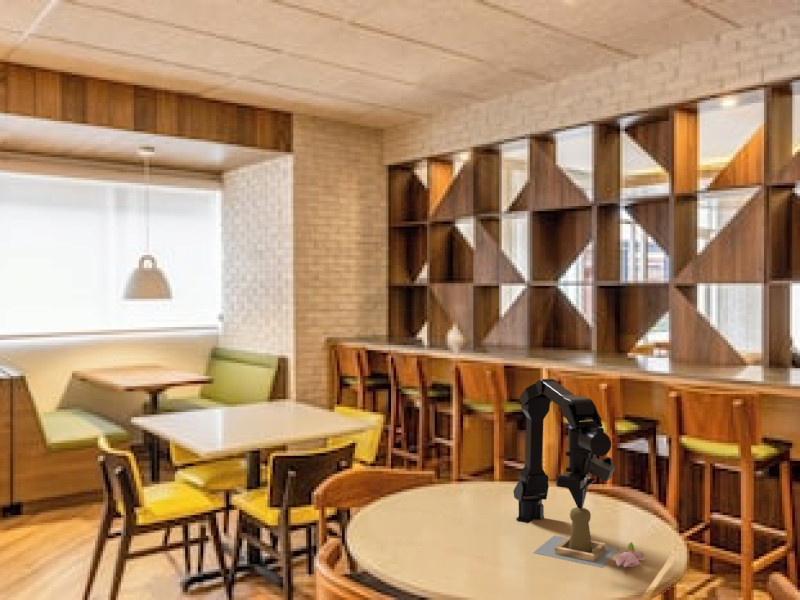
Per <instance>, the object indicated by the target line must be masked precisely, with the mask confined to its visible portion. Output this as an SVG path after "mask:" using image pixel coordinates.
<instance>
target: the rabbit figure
mask: <svg viewBox="0 0 800 600" xmlns="http://www.w3.org/2000/svg"><path fill="white" fill-rule="evenodd" d="M627 550H628V551H626V552H625V551H624V552H622V553H619V556H617V557H615V562H616V565H617V567H620V566H623V568H633V567H638V566H639V565H640V561H646V558H645V557H643V552H642V551H638V550H635V547H634V544H633V542H632V541H631V542H629V543H628V546H627Z"/></svg>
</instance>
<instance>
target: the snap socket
mask: <svg viewBox="0 0 800 600" xmlns="http://www.w3.org/2000/svg"><path fill="white" fill-rule="evenodd" d="M565 538H566V539H564V540H563V541H562V542H561V543H560V544H559V545H557V546H556V547H555V554H559V555H564V556H569V557H574V558H578V559H583V560H588V561H593V562H594V561H595V560H596V559H597V558H598V557H599V556H600V555H601V553H602V552H603V551H604V550H605V549H606V546H607V544H606V542H601V541H595V540H591V543H592V548H594V550H593V551H592V552H591V553H587V552H582V551H577V550H573V549H568V548H567V547H568V546H569V543H570V535H568V536H567V537H565Z"/></svg>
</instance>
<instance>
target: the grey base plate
mask: <svg viewBox="0 0 800 600" xmlns="http://www.w3.org/2000/svg"><path fill="white" fill-rule="evenodd" d="M566 538H567V537H563V536H558V535H552V537H550V538H549V539H548V540H546V541H545V542H544V543H543V544H541V545H540V546H539V547H538V548H536V549H535V550H534V551H533V552H532V554H536V555H541V556H546V557H550V558H553V559H559V560H564V561H567V562H568V561H570V562H574V563H578V564H582V565H587V566H592V567H595V568H604V567H605V566H606V565H607V564H608V562H610V560H611V559H612V558H613V557H614V556H615V554H617V552H618V551H620V549H621V548H620V547H615V546H610V545H606V549H605V550H604V551H603V552H602V553H601V555H600V556H599V557H598V558H597V559H596V560H595V561H594V562H593V561H588V560H583V559H578V558H574V557H569V556H564V555H559V554H555V547H556V546H557V545H559V544H560V543H561V542H562V541H563V540H564V539H566ZM567 548H568V549H569V546H568V547H567ZM593 550H594V548H592V551H593Z"/></svg>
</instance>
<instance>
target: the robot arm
mask: <svg viewBox="0 0 800 600" xmlns="http://www.w3.org/2000/svg"><path fill="white" fill-rule="evenodd" d="M519 400H520V405H521V410H522V412H523V414H524V416H525V417H526V428H525V430H526V432H525V434H526V435H525V462H524V463H525V465H524V466H523V468H522V469H521V471H520V473H519V475H518V476H519V477H518V478H519V479H518V481H517V483H516V485H515V487H514V488H513V490H512V491H513V498H514V499H515V500H517V501H518V516H517V517H516V519H515V520H516V521H519V522H520V521H521V522H525V523H531V522H532V521H534V520H542V519H545V515H544V513H545V512H544V505H545V504H543V500H547V497H548V493H549V488H550V487H549V486H550V485H549V476H548V474H547V473H546V472H545V470H544V469H543V445H544V419H546V416H547V415H548V414H549V412H550V408H551V403H554V404H555V405H557V406H558V407H559V408H560V409H562V410H561V415H562V416H563V417H564V418H565V419H566V421H567V422H565V424H564V426H565V428H567V429H568V430H567V431H568V432H567V433H568V435H567V436H568V438H567V439H568V442H567V443H568V445H567V447H568V449H567V451H565V456H566V457H568V460H567V461H568V462H567V463H568V466H567V467H566V468H565V472H562V473H561V474H559V475H558V476H557V477H556V478H555V486H556V487H558V488H565V489H568V491H569V492H570V495H571V496H572V499H573V501H574V503H575V505H576V507H578V508H584V504H585V502H586V501H585V499H586V496H587V493H588V489H589V487H590V486H591V485H592V484H593V483H594V482H596V478H599V479H600V480H601V481H603V482H608V481H609V480H611V479H612V477H613V474H614V472H615V471H616V467H615V466H616V465H614V459H613V458H612V457H609V456H607V457H605V458H604V459H602V458H597V457H596V456H598V457H603V456H605V455H608V453H609V452H610V451H611V448H612V441H611V438H610V436H608V434H607V433H605V429H604V427H603V423H602V417H601V416H600V414H599V411H598V409H597V406H596V404H595V403H594V401H593V400H592V399H591V398H589V397H587V396H582V395H577V394H574V393H573V392H571V391H570V390H569V389H568V388H565V387H564V386H562V385H561V384H559V382H557V380H556V379H553V378H540V379H538V380H537V381H536V382H534V383H533V384H530V385H529V386H527V387H526V388H524V389H523V391H522V392H521V393H520V396H519ZM590 475H593V476H595V477H596V478H591V476H590Z"/></svg>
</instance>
